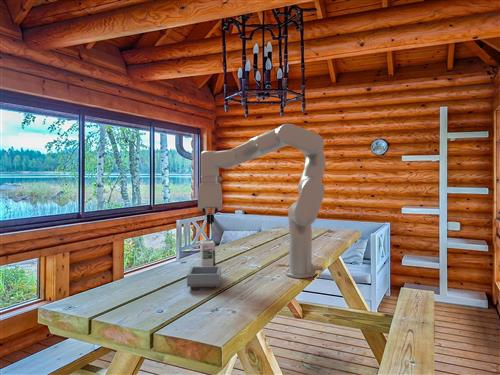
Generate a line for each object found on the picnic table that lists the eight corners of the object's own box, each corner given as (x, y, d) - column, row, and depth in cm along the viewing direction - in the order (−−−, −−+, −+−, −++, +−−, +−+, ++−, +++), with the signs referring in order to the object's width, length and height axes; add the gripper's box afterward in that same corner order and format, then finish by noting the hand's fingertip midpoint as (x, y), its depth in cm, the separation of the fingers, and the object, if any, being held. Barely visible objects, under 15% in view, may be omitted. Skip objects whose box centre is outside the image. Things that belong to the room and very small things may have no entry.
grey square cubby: (220, 280, 153) (220, 266, 153) (219, 290, 141) (219, 274, 141) (191, 281, 153) (191, 266, 152) (187, 290, 141) (187, 274, 140)
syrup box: (202, 277, 159) (201, 243, 158) (200, 273, 165) (199, 240, 164) (215, 276, 161) (215, 242, 160) (213, 272, 166) (212, 239, 166)
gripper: (227, 180, 162) (228, 222, 163) (192, 180, 161) (193, 223, 162) (227, 180, 154) (228, 225, 155) (191, 180, 153) (191, 225, 154)
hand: (210, 223), depth 158 cm, fingers closed
